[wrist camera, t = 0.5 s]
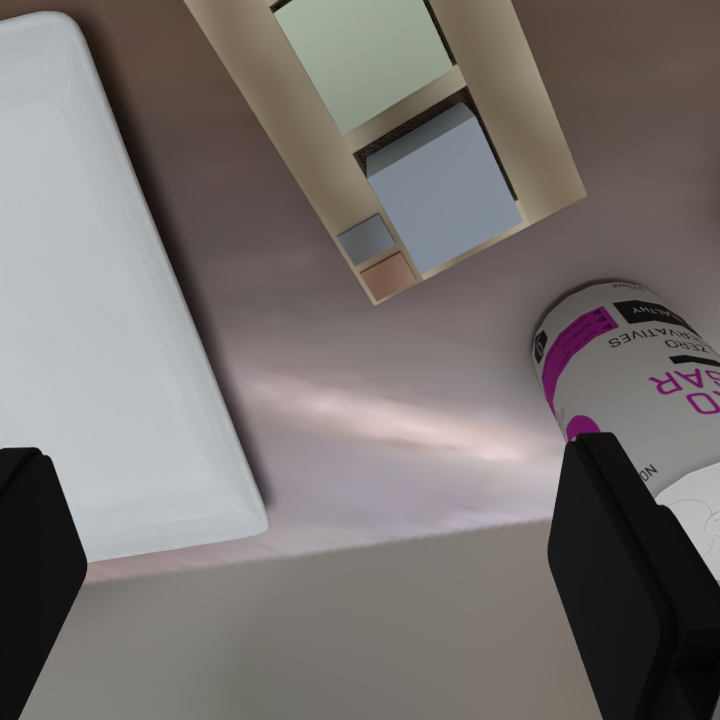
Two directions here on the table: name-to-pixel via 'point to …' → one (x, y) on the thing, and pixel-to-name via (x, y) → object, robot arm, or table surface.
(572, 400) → the supplement can
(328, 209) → the keypad base
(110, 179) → the tray
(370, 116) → the key sage
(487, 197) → the key slate
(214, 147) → the table surface
